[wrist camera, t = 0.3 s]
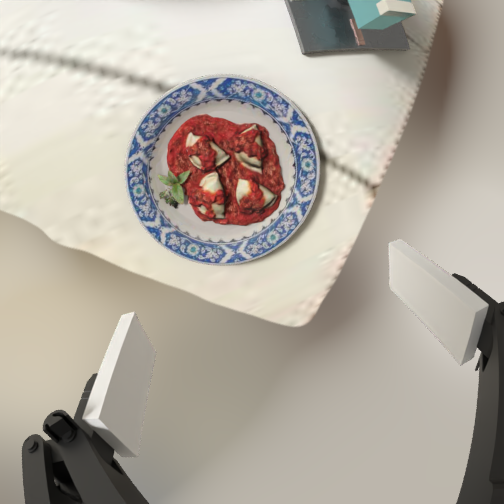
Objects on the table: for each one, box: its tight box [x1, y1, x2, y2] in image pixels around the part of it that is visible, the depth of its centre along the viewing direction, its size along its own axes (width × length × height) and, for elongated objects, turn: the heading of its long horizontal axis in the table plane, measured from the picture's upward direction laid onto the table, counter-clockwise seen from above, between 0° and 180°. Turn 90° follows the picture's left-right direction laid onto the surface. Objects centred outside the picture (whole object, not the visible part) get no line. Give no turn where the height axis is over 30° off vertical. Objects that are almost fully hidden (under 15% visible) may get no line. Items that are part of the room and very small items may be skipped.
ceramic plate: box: [125, 74, 320, 265], centre depth 37 cm, size 26×26×3 cm
